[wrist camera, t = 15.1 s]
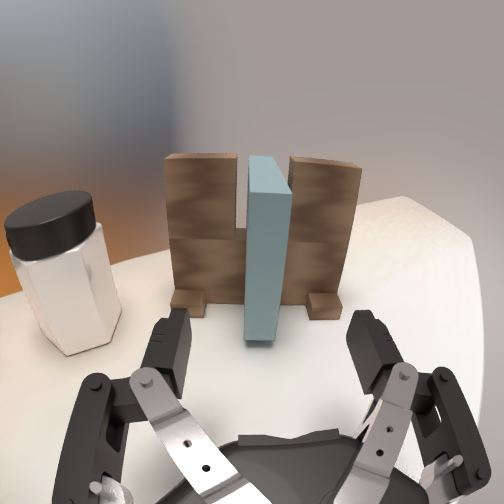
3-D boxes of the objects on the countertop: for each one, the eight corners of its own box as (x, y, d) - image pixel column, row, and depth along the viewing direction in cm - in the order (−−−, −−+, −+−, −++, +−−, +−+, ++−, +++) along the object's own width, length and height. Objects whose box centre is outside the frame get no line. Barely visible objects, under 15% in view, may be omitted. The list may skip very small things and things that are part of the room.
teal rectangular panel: (274, 340, 22) (292, 194, 16) (243, 339, 22) (249, 192, 16) (265, 255, 34) (272, 156, 28) (245, 254, 34) (248, 155, 28)
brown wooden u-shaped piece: (172, 315, 25) (155, 164, 18) (185, 275, 31) (177, 150, 24) (339, 319, 25) (373, 175, 19) (323, 278, 32) (343, 158, 25)
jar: (66, 294, 26) (39, 193, 20) (128, 297, 27) (108, 185, 21) (34, 351, 18) (-18, 233, 12) (106, 362, 19) (57, 227, 13)
